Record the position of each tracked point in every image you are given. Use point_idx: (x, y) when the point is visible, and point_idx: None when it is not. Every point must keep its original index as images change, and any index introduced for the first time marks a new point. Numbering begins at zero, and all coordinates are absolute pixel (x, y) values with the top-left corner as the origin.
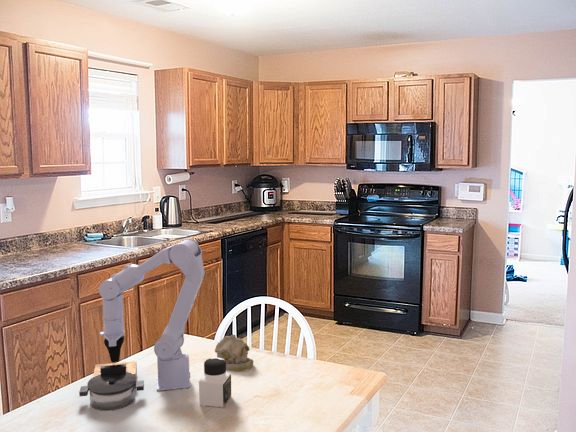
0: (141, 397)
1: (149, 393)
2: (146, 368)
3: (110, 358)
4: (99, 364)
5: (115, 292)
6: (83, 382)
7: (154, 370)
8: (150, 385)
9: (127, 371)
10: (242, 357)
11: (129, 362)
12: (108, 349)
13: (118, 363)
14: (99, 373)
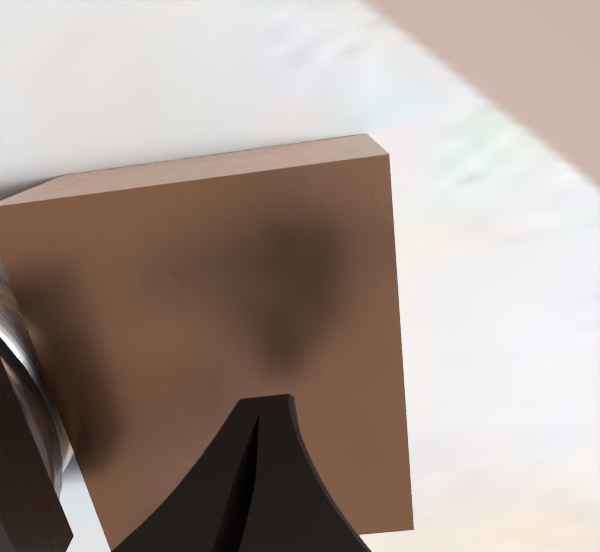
0: None
1: (82, 537)
2: (507, 477)
3: (222, 427)
4: (388, 199)
5: None
6: (295, 18)
7: (455, 526)
8: None
9: (165, 498)
10: None
11: (392, 482)
12: (124, 549)
13: (383, 394)
14: (111, 260)
